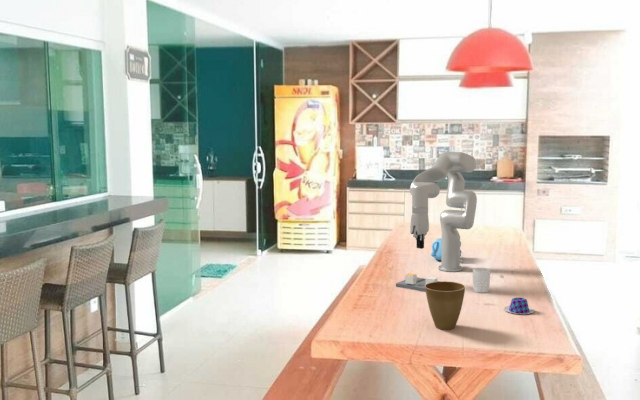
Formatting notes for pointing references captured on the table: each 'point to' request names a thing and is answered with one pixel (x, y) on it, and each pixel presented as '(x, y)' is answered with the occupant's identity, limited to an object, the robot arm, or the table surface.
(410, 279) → the block
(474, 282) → the white cup
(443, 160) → the robot arm
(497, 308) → the table surface
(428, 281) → the block
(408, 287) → the breaker panel
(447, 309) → the plant pot
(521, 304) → the purple patterned hat
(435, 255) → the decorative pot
